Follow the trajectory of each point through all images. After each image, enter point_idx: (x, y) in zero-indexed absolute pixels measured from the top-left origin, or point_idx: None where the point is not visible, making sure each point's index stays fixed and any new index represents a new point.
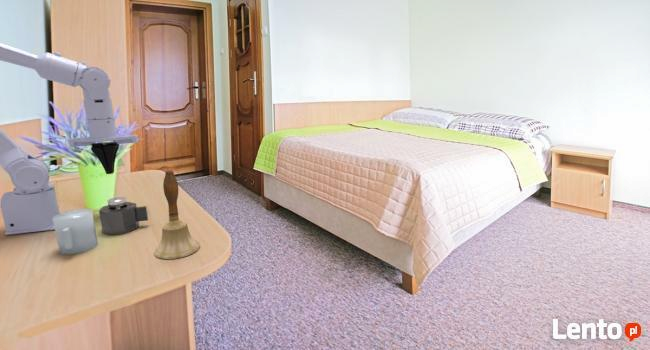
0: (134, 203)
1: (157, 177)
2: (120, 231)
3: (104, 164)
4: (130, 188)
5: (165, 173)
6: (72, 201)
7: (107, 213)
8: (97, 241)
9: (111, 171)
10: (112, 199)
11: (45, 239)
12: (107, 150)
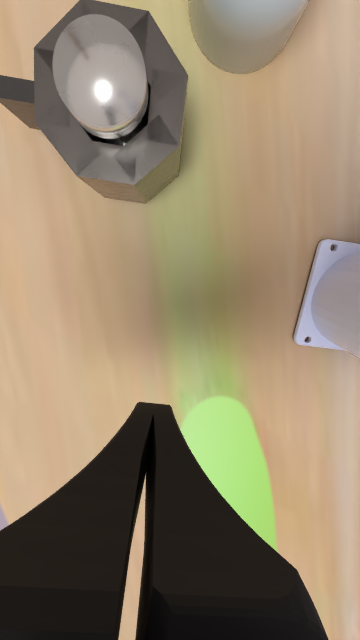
0: (42, 125)
1: None
2: None
3: (169, 441)
4: None
5: None
6: (290, 497)
7: (147, 14)
8: (189, 4)
9: (136, 406)
10: (122, 83)
11: (340, 160)
12: (76, 550)
